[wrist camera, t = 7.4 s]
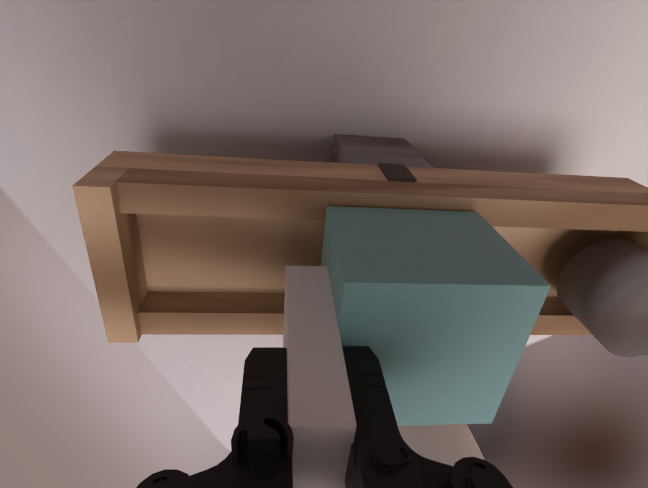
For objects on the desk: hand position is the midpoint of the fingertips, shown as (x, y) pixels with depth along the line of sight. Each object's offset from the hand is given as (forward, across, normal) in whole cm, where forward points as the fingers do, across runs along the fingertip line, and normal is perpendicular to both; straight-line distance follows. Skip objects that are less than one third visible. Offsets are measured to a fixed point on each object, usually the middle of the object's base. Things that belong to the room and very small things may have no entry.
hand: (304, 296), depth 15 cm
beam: (+10, +4, 0) cm, 11 cm away
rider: (+3, +4, 0) cm, 5 cm away
